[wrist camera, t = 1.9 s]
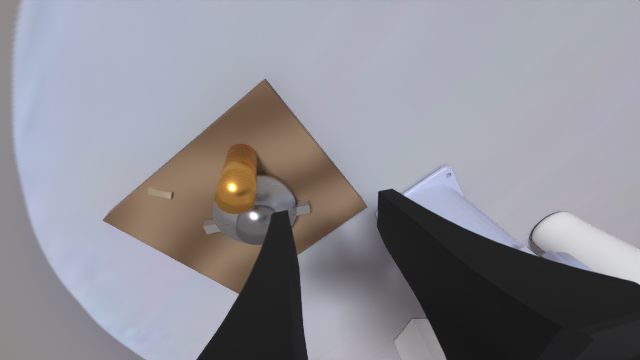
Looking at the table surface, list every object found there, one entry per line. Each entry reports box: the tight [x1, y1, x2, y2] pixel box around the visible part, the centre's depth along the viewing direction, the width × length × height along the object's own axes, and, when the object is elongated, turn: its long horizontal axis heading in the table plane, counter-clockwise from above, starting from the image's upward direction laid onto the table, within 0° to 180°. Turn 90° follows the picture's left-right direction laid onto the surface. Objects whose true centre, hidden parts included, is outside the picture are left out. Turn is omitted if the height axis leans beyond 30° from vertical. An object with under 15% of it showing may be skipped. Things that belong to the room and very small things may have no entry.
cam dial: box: [203, 144, 310, 246], centre depth 17 cm, size 10×8×5 cm
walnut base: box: [103, 79, 367, 294], centre depth 20 cm, size 13×15×1 cm
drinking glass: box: [532, 212, 640, 285], centre depth 25 cm, size 7×7×15 cm
